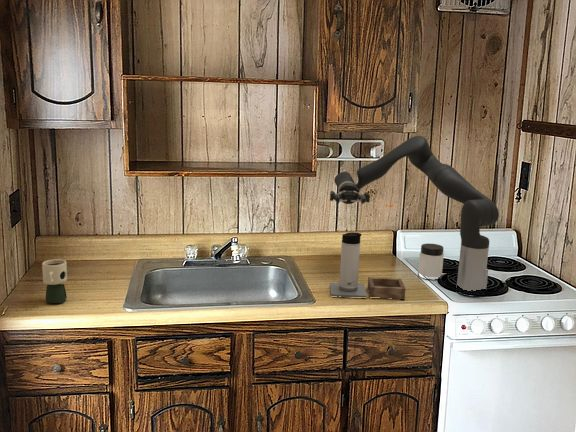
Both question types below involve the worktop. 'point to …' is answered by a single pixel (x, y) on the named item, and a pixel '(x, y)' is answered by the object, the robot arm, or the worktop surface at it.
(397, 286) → the walnut holder
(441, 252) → the jar
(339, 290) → the cover plate
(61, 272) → the character mug
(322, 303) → the worktop surface
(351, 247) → the travel mug
